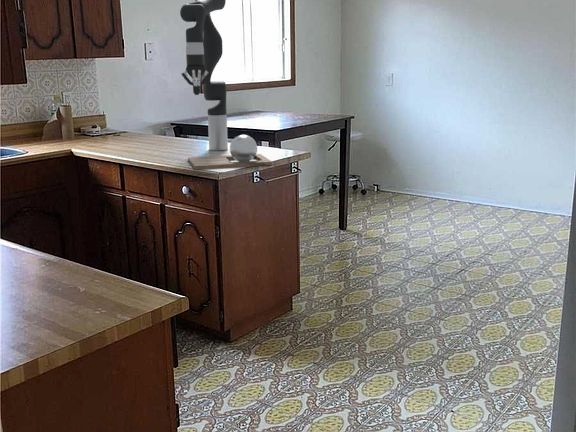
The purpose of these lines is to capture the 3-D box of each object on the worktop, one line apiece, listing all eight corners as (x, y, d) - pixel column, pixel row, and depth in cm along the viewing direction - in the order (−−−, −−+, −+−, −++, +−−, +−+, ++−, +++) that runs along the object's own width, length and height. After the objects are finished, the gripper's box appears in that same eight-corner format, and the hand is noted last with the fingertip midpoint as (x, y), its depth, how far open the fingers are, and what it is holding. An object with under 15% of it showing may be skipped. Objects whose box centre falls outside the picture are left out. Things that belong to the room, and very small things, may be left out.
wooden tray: (188, 160, 280) (187, 157, 279) (260, 156, 289) (259, 153, 288) (195, 169, 259) (194, 166, 259) (272, 165, 268) (272, 161, 268)
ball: (242, 127, 277) (259, 147, 282) (221, 144, 277) (238, 165, 282) (248, 131, 266) (265, 152, 271) (227, 149, 266) (244, 170, 270)
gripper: (180, 53, 262) (182, 95, 267) (211, 53, 266) (213, 95, 270) (178, 53, 269) (180, 94, 274) (209, 53, 273) (210, 93, 277)
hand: (196, 94), depth 272 cm, fingers closed
